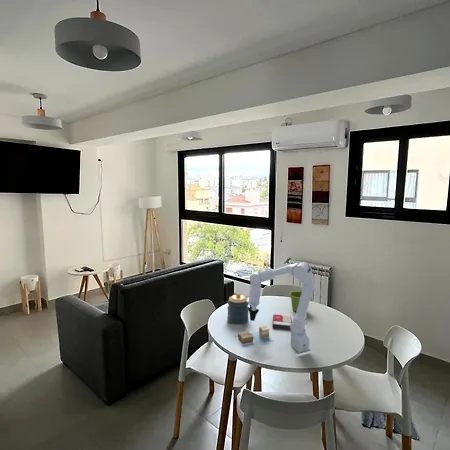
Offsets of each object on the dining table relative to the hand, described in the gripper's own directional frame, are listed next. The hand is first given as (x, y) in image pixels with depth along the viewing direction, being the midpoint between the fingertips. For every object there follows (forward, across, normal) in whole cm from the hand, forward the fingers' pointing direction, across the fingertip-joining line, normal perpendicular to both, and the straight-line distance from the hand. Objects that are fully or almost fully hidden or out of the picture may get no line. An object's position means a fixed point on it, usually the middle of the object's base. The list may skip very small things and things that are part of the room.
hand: (252, 317), depth 165 cm
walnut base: (+9, +8, -3) cm, 13 cm away
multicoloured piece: (+10, -14, +19) cm, 25 cm away
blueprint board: (+10, +6, +2) cm, 12 cm away
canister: (+12, -16, -8) cm, 21 cm away
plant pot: (+10, -37, +31) cm, 49 cm away
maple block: (+9, +3, +7) cm, 12 cm away
